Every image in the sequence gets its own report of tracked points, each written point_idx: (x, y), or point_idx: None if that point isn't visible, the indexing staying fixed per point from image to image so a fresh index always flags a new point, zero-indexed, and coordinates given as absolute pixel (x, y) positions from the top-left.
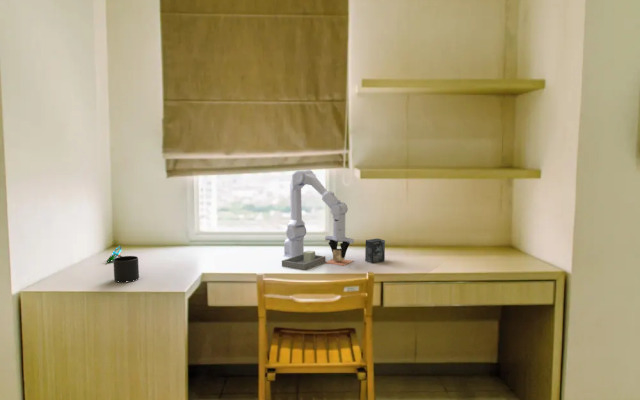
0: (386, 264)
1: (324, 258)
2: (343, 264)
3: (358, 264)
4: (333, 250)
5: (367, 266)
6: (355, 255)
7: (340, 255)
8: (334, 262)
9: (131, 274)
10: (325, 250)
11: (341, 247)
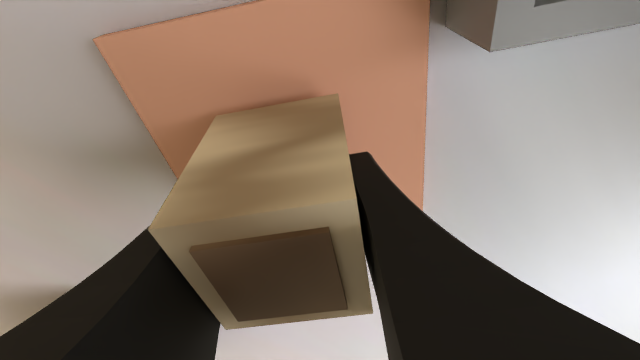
0: (31, 315)
1: (480, 7)
2: (138, 83)
3: (123, 217)
4: (341, 194)
5: (9, 217)
6: (361, 340)
7: (187, 169)
8: (307, 82)
9: None
10: (621, 323)
11: (75, 329)
